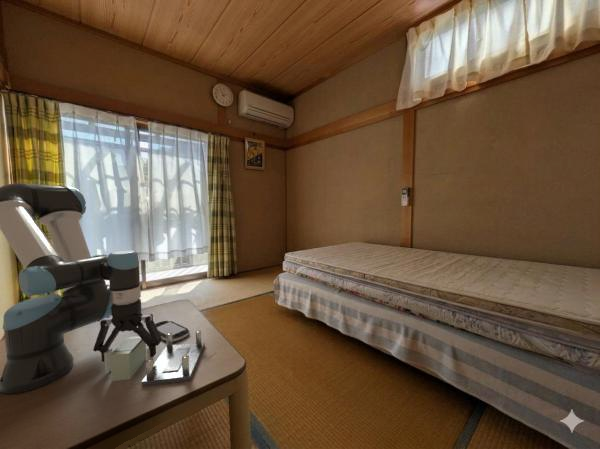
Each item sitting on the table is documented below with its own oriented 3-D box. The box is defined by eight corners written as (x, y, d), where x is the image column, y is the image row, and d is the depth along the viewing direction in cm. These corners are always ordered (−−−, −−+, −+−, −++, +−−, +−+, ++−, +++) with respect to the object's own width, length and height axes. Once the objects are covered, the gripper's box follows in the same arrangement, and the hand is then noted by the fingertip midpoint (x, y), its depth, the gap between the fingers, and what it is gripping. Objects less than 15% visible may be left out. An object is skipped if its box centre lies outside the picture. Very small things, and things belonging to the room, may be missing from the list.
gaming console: (146, 332, 98) (145, 326, 98) (167, 323, 106) (167, 317, 106) (171, 346, 88) (170, 340, 88) (193, 335, 95) (193, 329, 95)
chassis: (141, 386, 67) (140, 364, 67) (166, 349, 85) (165, 332, 85) (190, 381, 69) (189, 359, 69) (204, 346, 87) (204, 329, 87)
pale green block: (111, 381, 70) (109, 355, 69) (130, 360, 80) (128, 336, 79) (130, 379, 71) (128, 353, 70) (146, 358, 80) (145, 335, 80)
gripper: (73, 308, 68) (79, 381, 69) (162, 302, 72) (165, 371, 73) (92, 298, 75) (96, 364, 77) (171, 294, 79) (174, 356, 81)
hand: (130, 368), depth 75 cm, fingers open, 11 cm apart
